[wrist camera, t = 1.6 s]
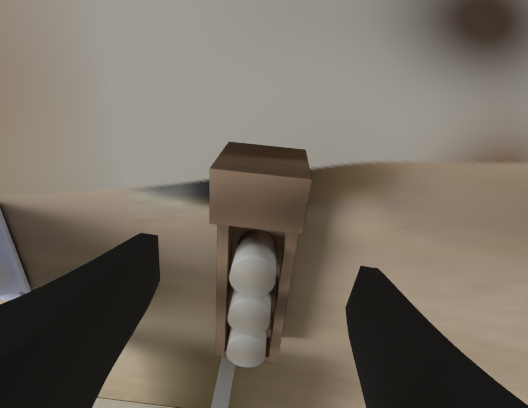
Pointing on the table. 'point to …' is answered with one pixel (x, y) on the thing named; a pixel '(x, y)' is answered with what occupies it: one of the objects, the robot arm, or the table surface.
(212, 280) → the table surface
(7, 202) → the table surface
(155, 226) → the table surface
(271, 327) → the wooden slotted rack
